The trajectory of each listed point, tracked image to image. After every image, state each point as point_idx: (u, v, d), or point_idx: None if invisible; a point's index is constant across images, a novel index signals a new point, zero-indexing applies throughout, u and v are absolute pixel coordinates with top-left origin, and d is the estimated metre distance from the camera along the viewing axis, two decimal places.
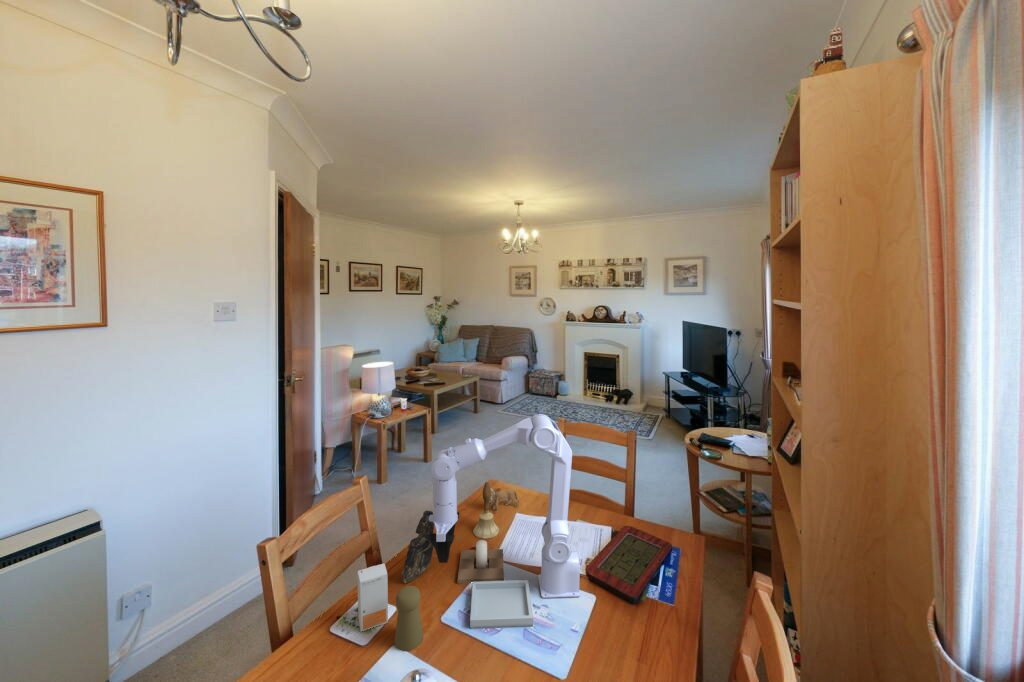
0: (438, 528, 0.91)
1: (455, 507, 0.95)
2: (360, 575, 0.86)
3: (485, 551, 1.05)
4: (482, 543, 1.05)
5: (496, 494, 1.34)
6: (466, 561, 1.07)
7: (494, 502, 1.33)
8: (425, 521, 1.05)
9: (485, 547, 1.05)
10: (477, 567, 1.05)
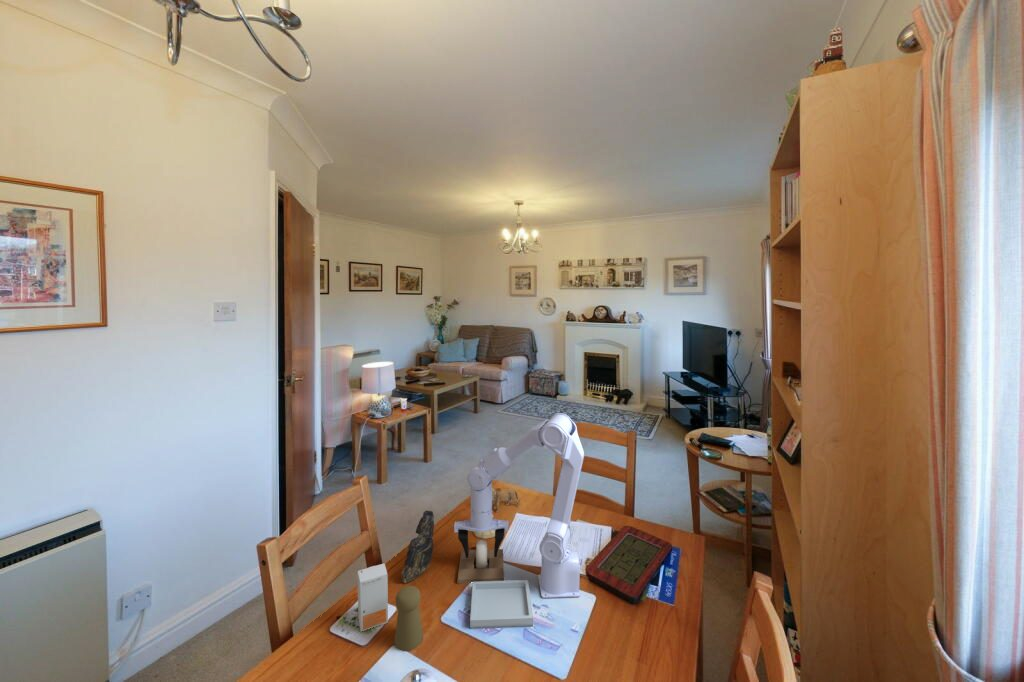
0: (464, 522, 1.06)
1: (477, 518, 1.02)
2: (360, 575, 0.86)
3: (485, 551, 1.05)
4: (482, 543, 1.05)
5: (497, 494, 1.34)
6: (466, 561, 1.07)
7: (495, 502, 1.34)
8: (425, 521, 1.05)
9: (485, 547, 1.05)
10: (477, 567, 1.05)
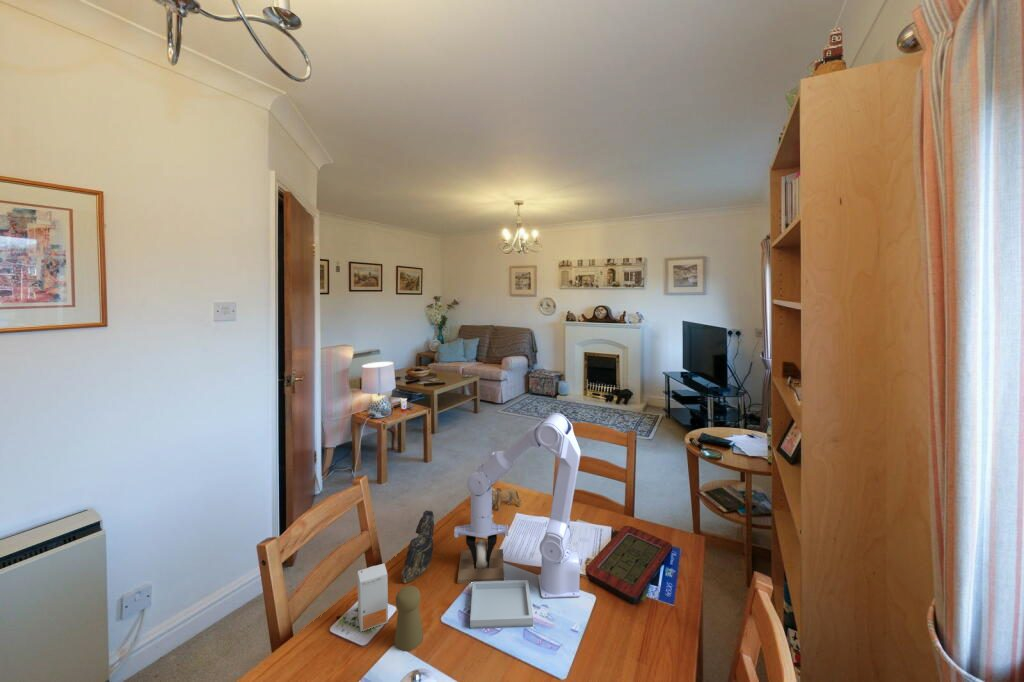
0: (464, 527, 1.06)
1: (477, 523, 1.02)
2: (360, 575, 0.86)
3: (485, 551, 1.05)
4: (482, 543, 1.05)
5: (498, 494, 1.34)
6: (466, 561, 1.07)
7: (496, 502, 1.34)
8: (425, 521, 1.05)
9: (485, 547, 1.05)
10: (477, 567, 1.05)
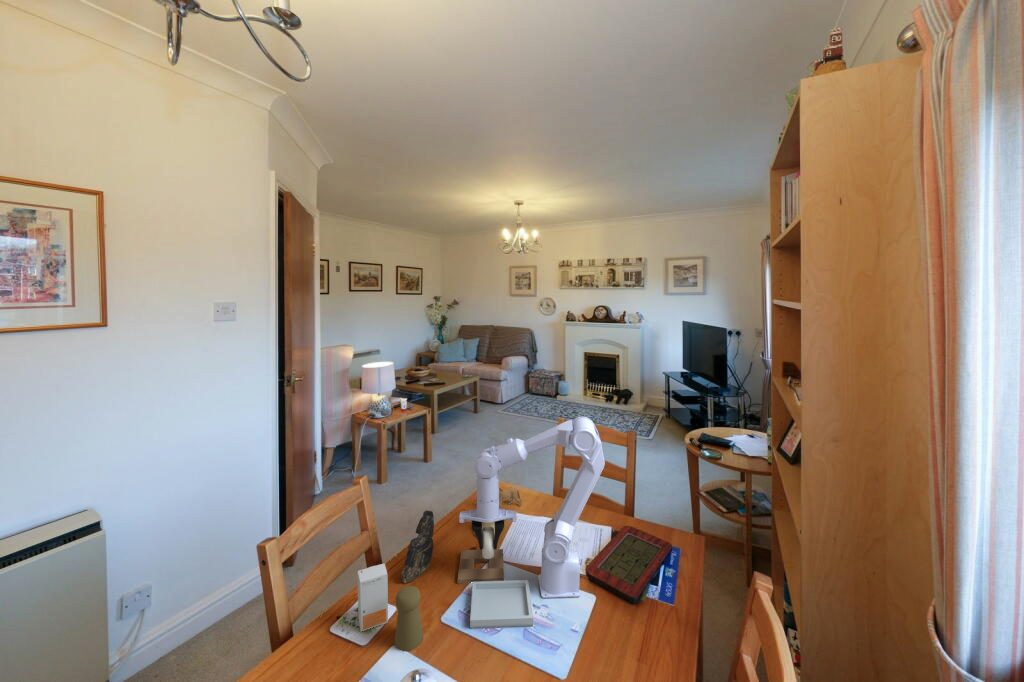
0: (469, 512, 1.00)
1: (483, 507, 0.97)
2: (360, 575, 0.86)
3: (492, 537, 0.99)
4: (489, 529, 1.00)
5: (499, 493, 1.34)
6: (466, 561, 1.07)
7: None
8: (425, 521, 1.05)
9: (492, 533, 0.99)
10: (483, 554, 1.00)
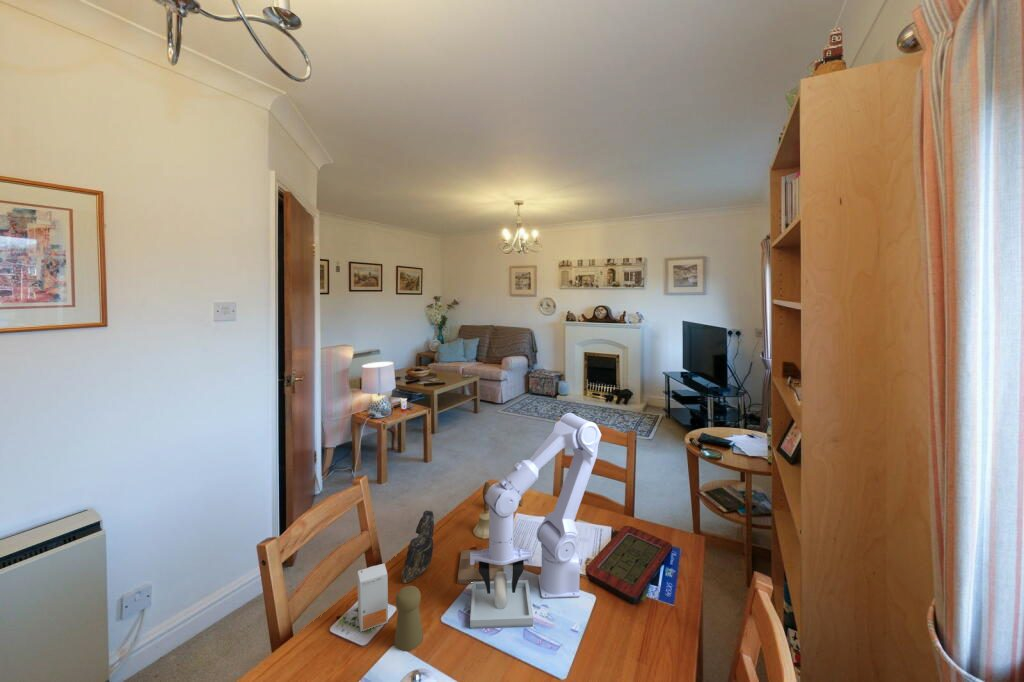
0: (481, 552, 0.92)
1: (497, 549, 0.88)
2: (360, 575, 0.86)
3: (505, 584, 0.91)
4: (501, 575, 0.92)
5: None
6: (466, 561, 1.07)
7: None
8: (425, 521, 1.05)
9: (505, 579, 0.91)
10: (496, 604, 0.91)
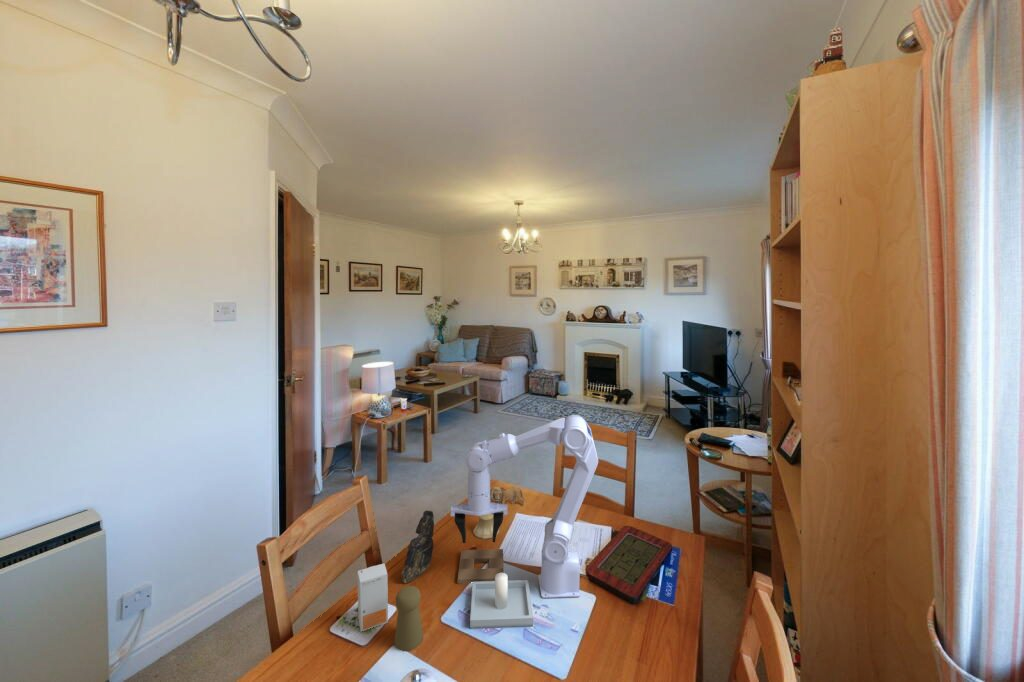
0: (460, 506, 1.01)
1: (475, 501, 0.97)
2: (360, 575, 0.86)
3: (506, 586, 0.91)
4: (502, 577, 0.92)
5: (502, 492, 1.35)
6: (466, 561, 1.07)
7: (501, 500, 1.34)
8: (425, 521, 1.05)
9: (506, 581, 0.91)
10: (496, 604, 0.91)
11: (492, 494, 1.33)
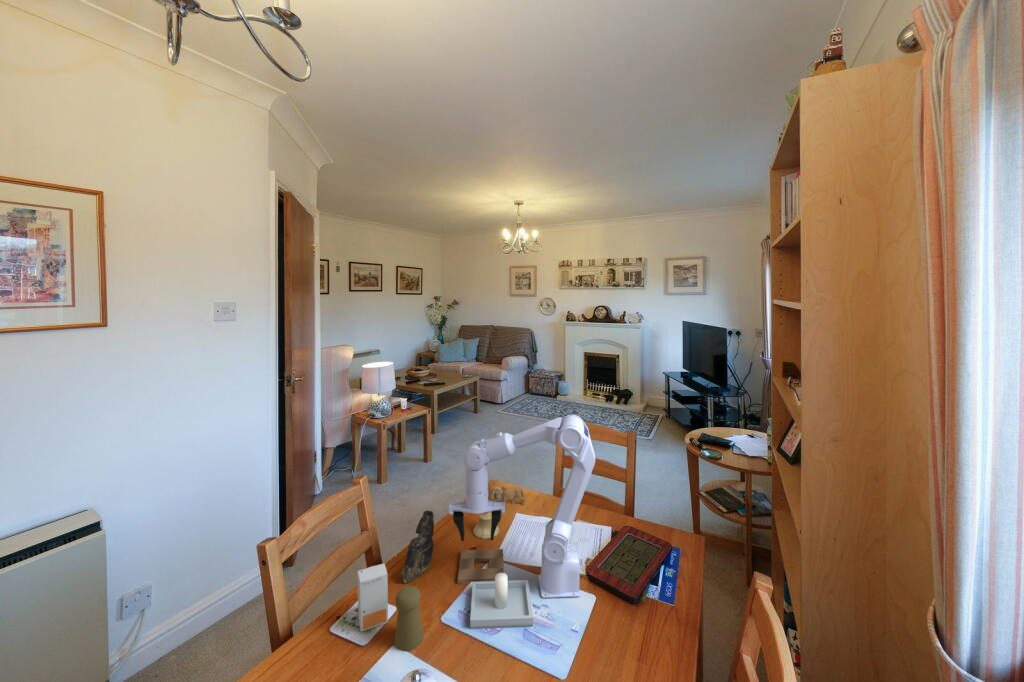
0: (459, 504, 1.02)
1: (473, 499, 0.98)
2: (360, 575, 0.86)
3: (506, 586, 0.91)
4: (502, 577, 0.92)
5: (503, 492, 1.35)
6: (466, 561, 1.07)
7: (502, 500, 1.35)
8: (425, 521, 1.05)
9: (506, 581, 0.91)
10: (496, 604, 0.91)
11: (493, 494, 1.33)
